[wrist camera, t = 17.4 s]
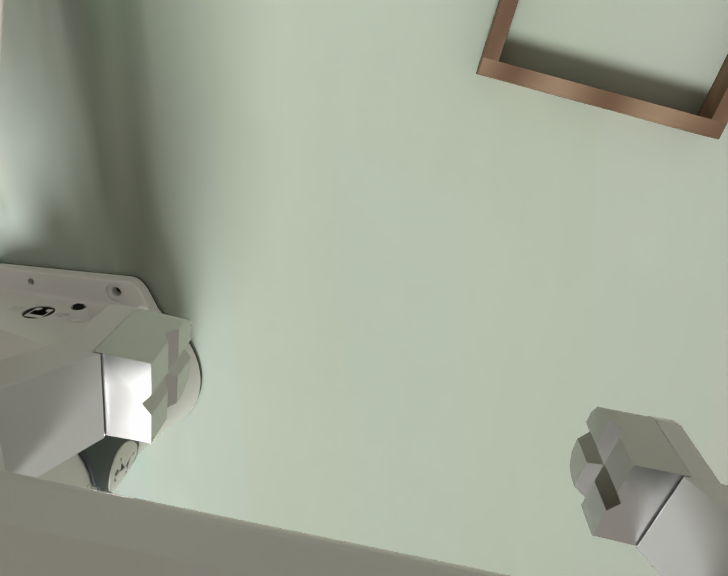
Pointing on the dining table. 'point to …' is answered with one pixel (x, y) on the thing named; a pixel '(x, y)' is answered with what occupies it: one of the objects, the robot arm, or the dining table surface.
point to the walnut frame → (718, 109)
